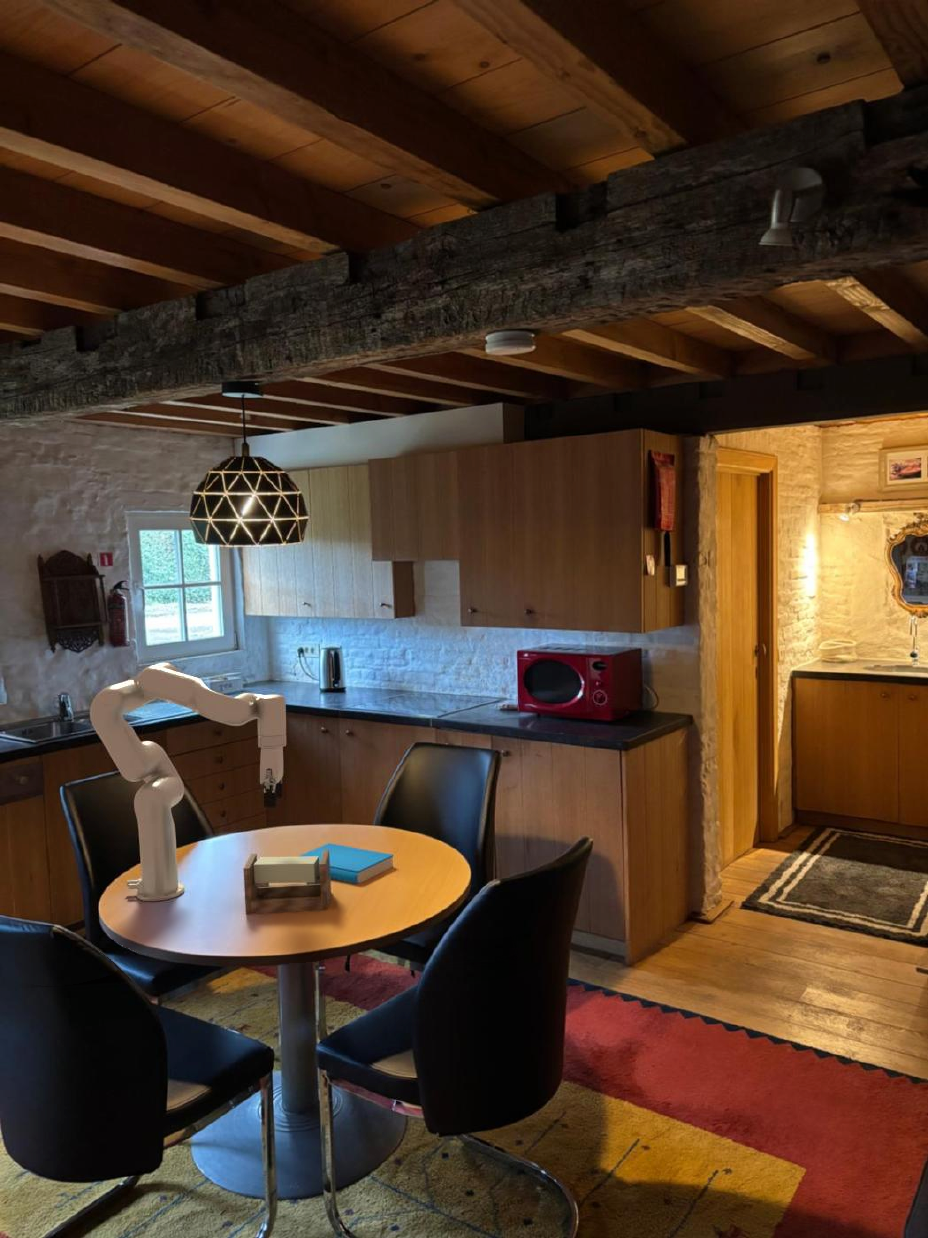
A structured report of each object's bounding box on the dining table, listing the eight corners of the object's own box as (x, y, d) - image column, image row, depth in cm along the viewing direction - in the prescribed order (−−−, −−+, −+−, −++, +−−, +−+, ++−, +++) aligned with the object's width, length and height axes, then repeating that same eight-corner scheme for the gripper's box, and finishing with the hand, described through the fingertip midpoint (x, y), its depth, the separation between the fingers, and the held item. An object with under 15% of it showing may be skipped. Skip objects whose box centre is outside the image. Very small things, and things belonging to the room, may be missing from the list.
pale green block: (254, 883, 244) (253, 864, 244) (261, 875, 250) (260, 857, 250) (314, 882, 243) (313, 863, 243) (319, 874, 249) (318, 856, 249)
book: (328, 843, 287) (393, 853, 274) (329, 856, 288) (394, 867, 274) (290, 859, 273) (357, 870, 260) (291, 873, 273) (358, 886, 260)
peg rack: (245, 914, 241) (243, 868, 240) (253, 897, 253) (251, 854, 252) (327, 909, 242) (325, 864, 241) (331, 892, 254) (329, 849, 253)
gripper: (264, 734, 261) (265, 794, 263) (251, 747, 244) (253, 811, 245) (291, 734, 262) (292, 794, 263) (280, 746, 244) (281, 811, 246)
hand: (273, 802), depth 254 cm, fingers open, 9 cm apart
